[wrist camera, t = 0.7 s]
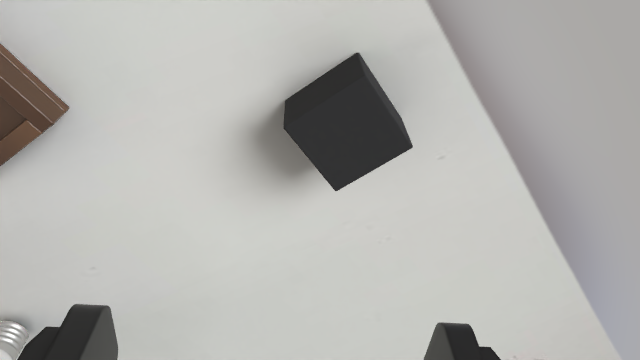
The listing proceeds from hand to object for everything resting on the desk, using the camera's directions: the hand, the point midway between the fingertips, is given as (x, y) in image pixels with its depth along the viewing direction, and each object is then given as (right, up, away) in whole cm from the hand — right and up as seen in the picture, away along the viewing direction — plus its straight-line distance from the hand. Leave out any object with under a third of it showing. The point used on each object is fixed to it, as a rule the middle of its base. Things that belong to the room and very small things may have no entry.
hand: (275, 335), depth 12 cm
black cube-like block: (+3, +8, +16) cm, 18 cm away
